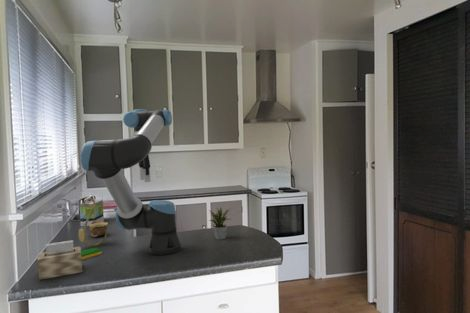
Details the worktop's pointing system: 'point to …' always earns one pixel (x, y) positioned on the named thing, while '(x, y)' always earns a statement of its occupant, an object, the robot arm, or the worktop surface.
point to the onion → (97, 229)
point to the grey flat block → (59, 248)
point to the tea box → (86, 210)
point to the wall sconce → (97, 226)
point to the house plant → (219, 224)
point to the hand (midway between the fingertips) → (145, 180)
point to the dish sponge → (90, 253)
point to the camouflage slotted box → (59, 264)
